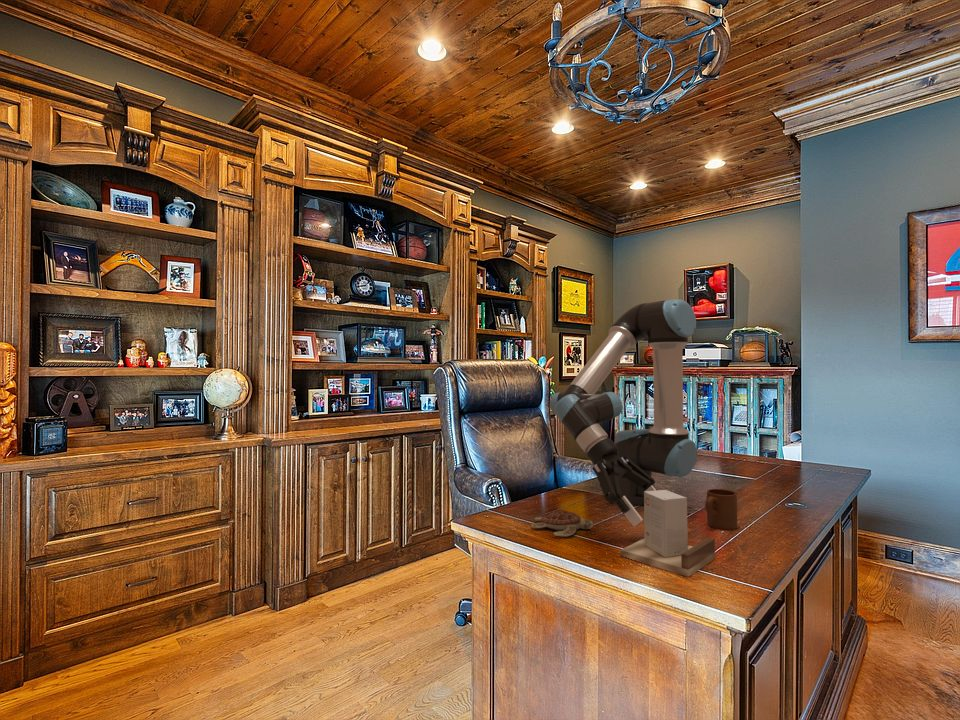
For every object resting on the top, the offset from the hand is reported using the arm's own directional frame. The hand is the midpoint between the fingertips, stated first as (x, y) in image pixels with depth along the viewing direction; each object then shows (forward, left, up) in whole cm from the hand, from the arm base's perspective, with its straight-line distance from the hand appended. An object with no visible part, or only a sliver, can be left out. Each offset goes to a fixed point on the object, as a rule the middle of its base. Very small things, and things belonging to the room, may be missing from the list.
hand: (652, 517), depth 118 cm
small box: (+3, +1, -7) cm, 8 cm away
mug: (+3, +30, -9) cm, 32 cm away
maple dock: (+3, 0, -9) cm, 9 cm away
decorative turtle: (-27, 0, -9) cm, 28 cm away
